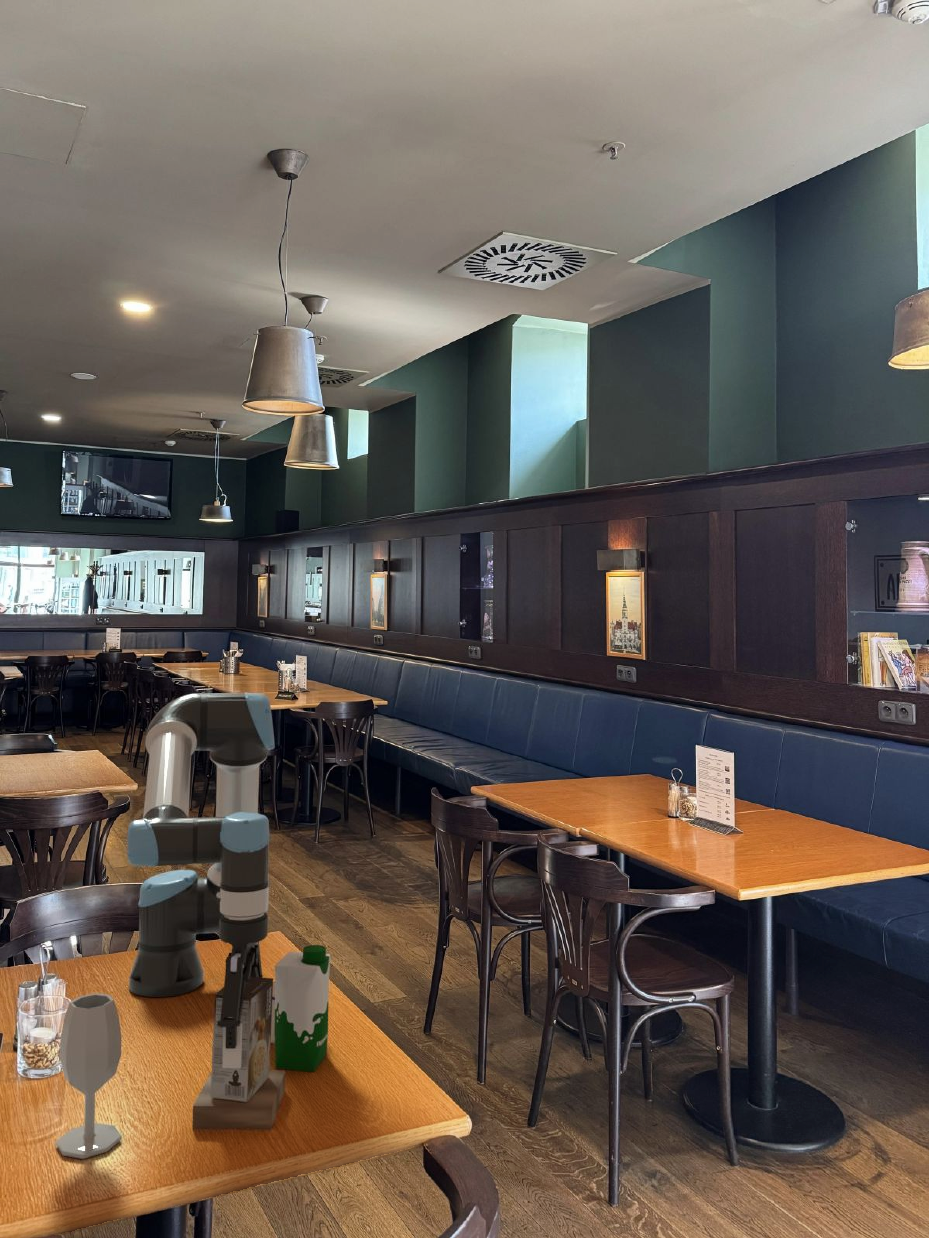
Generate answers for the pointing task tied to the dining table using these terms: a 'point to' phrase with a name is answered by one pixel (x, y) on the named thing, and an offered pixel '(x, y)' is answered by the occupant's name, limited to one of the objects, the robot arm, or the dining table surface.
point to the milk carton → (302, 1009)
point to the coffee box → (245, 1044)
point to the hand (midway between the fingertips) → (241, 1047)
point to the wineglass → (90, 1068)
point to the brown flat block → (240, 1107)
